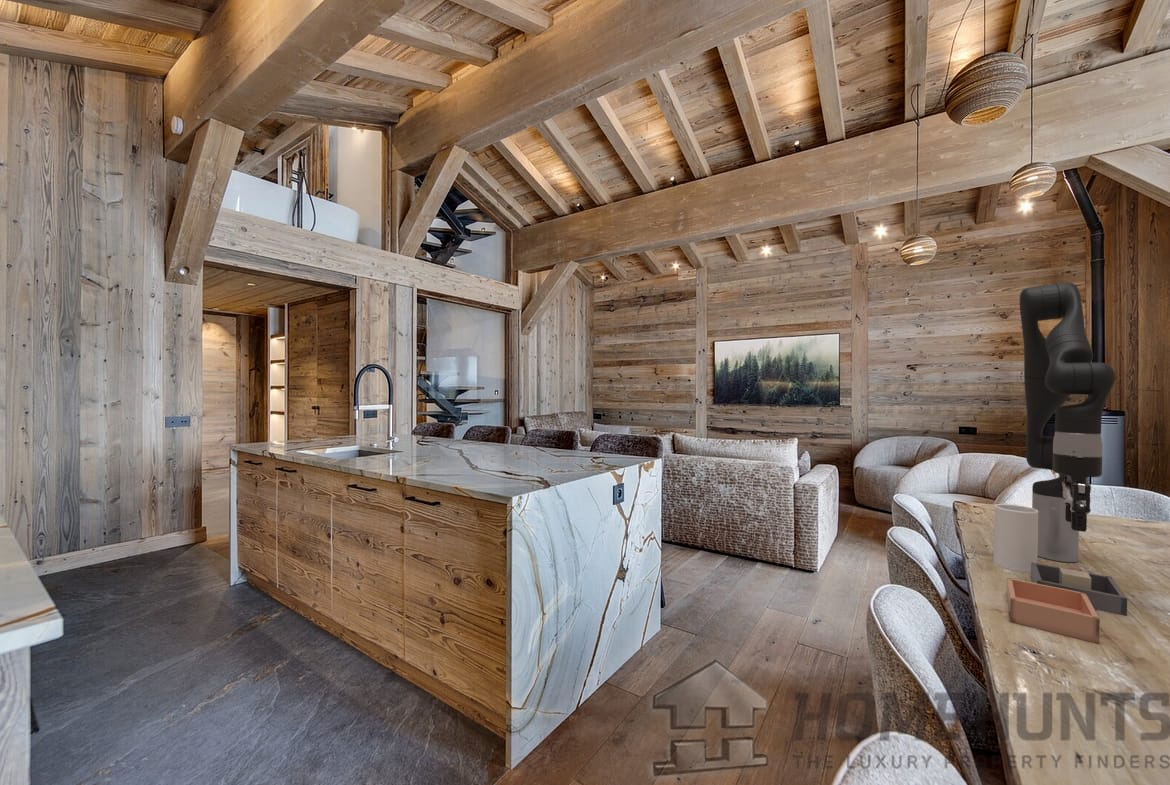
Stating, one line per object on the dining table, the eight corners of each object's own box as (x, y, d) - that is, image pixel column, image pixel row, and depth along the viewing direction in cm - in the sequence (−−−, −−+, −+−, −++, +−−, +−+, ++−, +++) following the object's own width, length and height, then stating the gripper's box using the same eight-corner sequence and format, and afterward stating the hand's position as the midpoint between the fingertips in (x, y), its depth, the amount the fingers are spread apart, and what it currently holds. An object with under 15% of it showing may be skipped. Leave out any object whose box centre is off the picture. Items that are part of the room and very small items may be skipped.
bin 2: (1030, 580, 112) (1031, 562, 112) (1111, 596, 104) (1111, 576, 104) (1036, 601, 102) (1037, 580, 102) (1126, 620, 93) (1127, 598, 93)
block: (1058, 588, 106) (1059, 567, 106) (1087, 594, 103) (1087, 572, 103) (1061, 594, 103) (1062, 573, 102) (1090, 601, 100) (1091, 578, 100)
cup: (1022, 577, 114) (1023, 513, 114) (985, 565, 122) (986, 504, 122) (1045, 574, 116) (1046, 510, 116) (1008, 562, 124) (1009, 502, 124)
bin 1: (1006, 597, 103) (1006, 577, 103) (1085, 614, 96) (1085, 593, 96) (1010, 621, 93) (1010, 599, 93) (1099, 643, 85) (1099, 618, 85)
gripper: (1049, 448, 110) (1047, 516, 111) (1057, 454, 99) (1055, 530, 100) (1095, 451, 106) (1094, 522, 106) (1109, 458, 95) (1107, 537, 95)
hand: (1075, 526), depth 103 cm, fingers open, 8 cm apart
